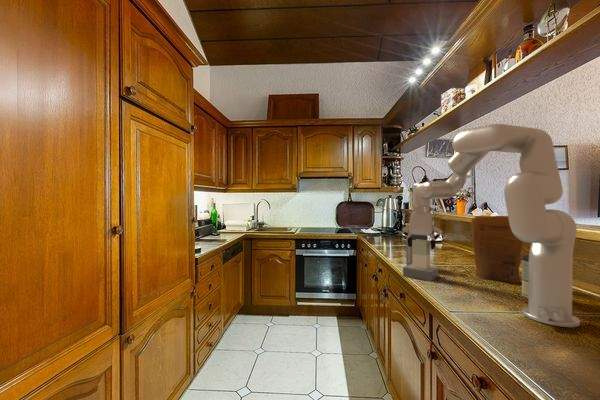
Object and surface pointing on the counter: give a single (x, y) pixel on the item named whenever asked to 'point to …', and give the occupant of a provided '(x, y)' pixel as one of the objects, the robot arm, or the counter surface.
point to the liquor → (409, 249)
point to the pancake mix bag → (496, 249)
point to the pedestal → (421, 272)
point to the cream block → (421, 261)
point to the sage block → (421, 247)
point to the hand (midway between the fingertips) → (421, 247)
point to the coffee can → (525, 276)
